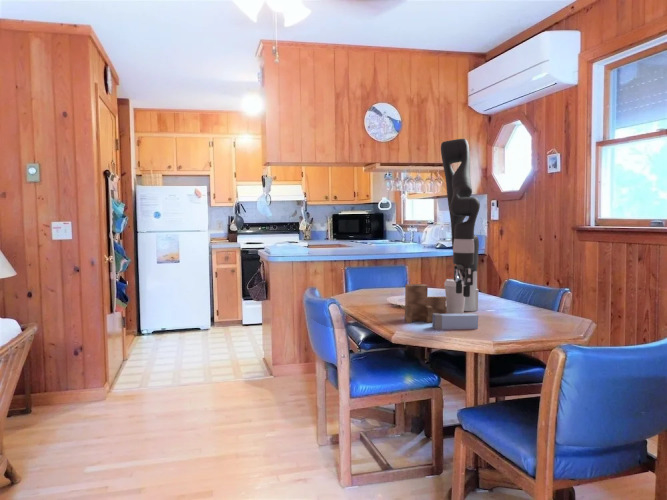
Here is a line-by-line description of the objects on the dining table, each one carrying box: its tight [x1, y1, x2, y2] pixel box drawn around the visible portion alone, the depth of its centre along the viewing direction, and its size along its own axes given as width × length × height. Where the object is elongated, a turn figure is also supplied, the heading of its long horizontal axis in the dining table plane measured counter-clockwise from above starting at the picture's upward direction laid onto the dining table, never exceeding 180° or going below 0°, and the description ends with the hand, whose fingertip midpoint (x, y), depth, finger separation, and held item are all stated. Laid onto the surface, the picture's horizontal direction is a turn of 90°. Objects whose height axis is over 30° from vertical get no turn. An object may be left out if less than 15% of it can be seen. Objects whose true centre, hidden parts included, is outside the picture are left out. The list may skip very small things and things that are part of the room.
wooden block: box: [404, 283, 447, 324], centre depth 197 cm, size 17×8×14 cm, turn 95°
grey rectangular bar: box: [431, 312, 479, 331], centre depth 185 cm, size 16×4×5 cm, turn 94°
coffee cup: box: [443, 278, 465, 314], centre depth 206 cm, size 10×10×15 cm
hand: (462, 295), depth 184 cm, fingers open, 8 cm apart
